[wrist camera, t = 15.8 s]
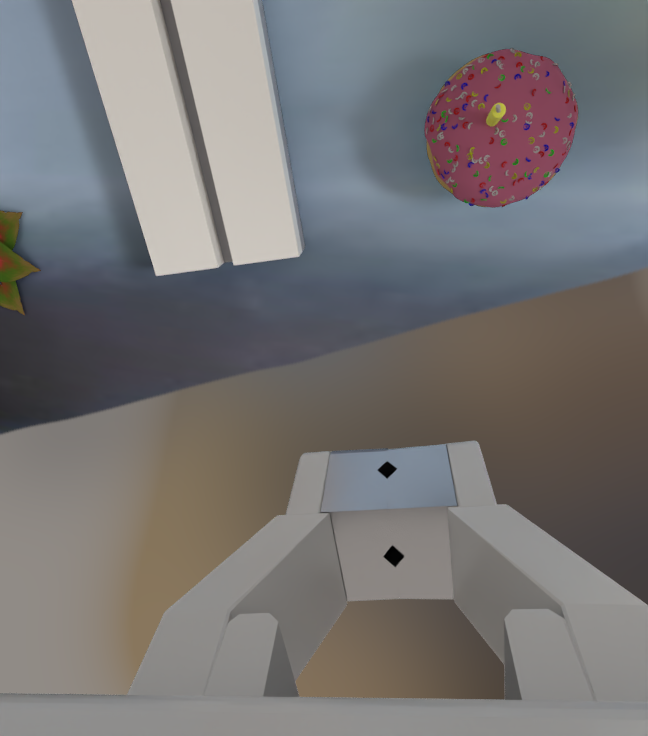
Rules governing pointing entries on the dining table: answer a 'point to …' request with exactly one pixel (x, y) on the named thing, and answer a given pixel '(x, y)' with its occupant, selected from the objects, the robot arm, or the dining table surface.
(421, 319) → the dining table surface
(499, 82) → the cupcake
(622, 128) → the dining table surface
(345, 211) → the dining table surface
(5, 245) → the lily flower
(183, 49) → the white slider track base
